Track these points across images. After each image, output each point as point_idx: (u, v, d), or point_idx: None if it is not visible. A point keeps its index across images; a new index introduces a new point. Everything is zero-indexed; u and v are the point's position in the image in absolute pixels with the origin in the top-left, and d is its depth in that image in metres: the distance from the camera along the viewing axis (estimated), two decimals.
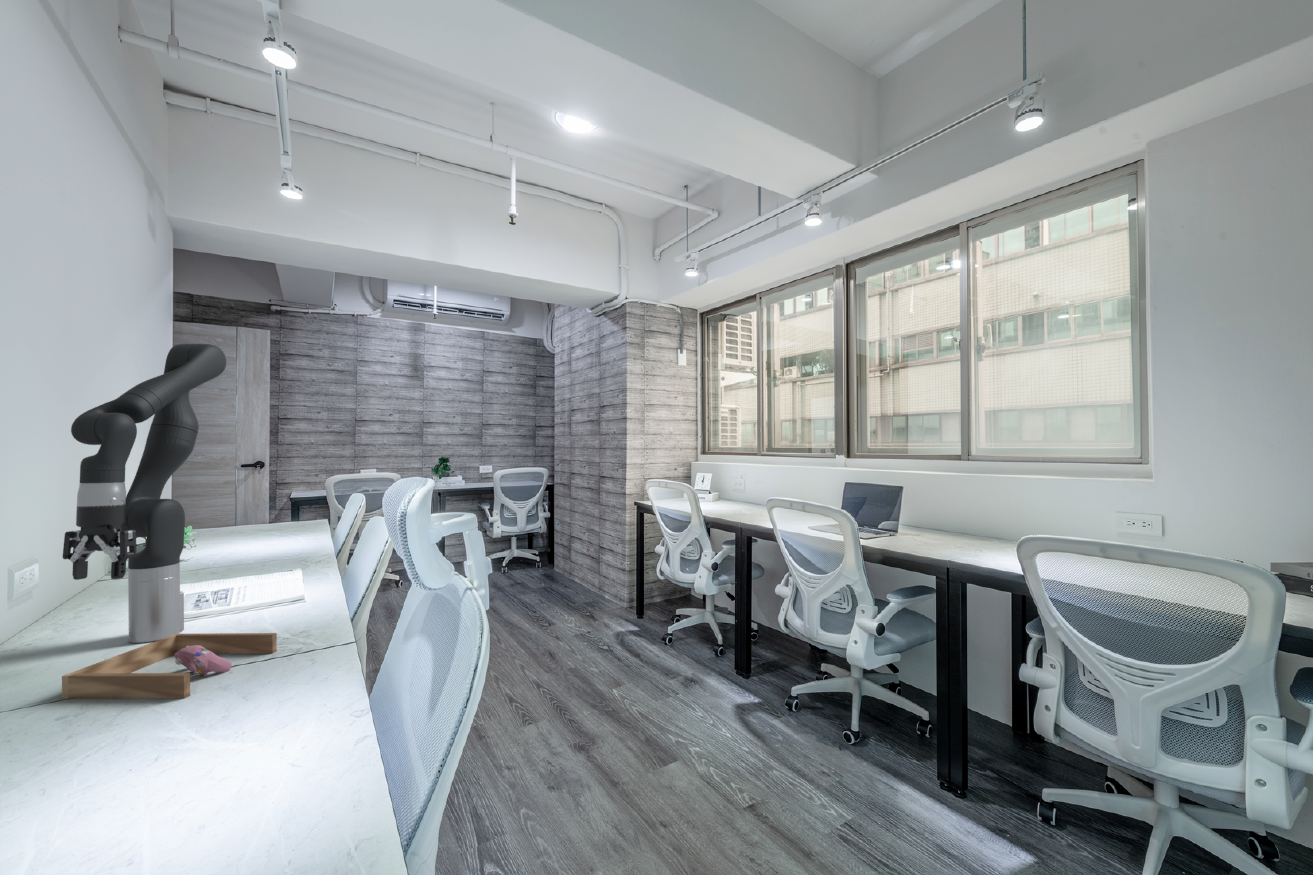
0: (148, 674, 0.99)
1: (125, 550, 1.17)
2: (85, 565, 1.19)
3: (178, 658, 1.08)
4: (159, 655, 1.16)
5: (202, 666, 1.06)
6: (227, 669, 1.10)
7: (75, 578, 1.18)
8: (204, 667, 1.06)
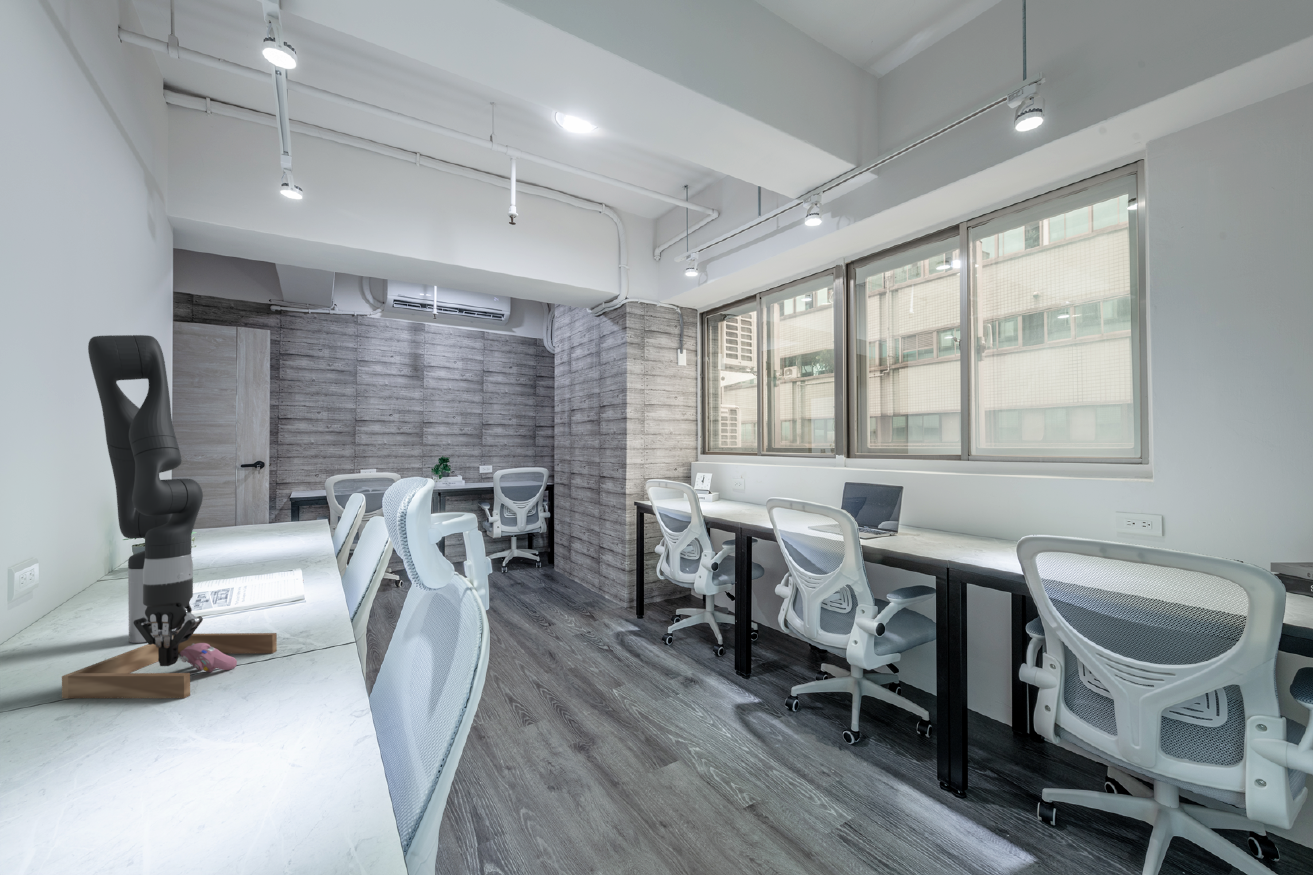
0: (148, 674, 0.99)
1: (180, 639, 1.08)
2: None
3: (184, 656, 1.09)
4: None
5: (207, 663, 1.07)
6: (233, 666, 1.11)
7: (162, 665, 1.09)
8: (210, 664, 1.07)
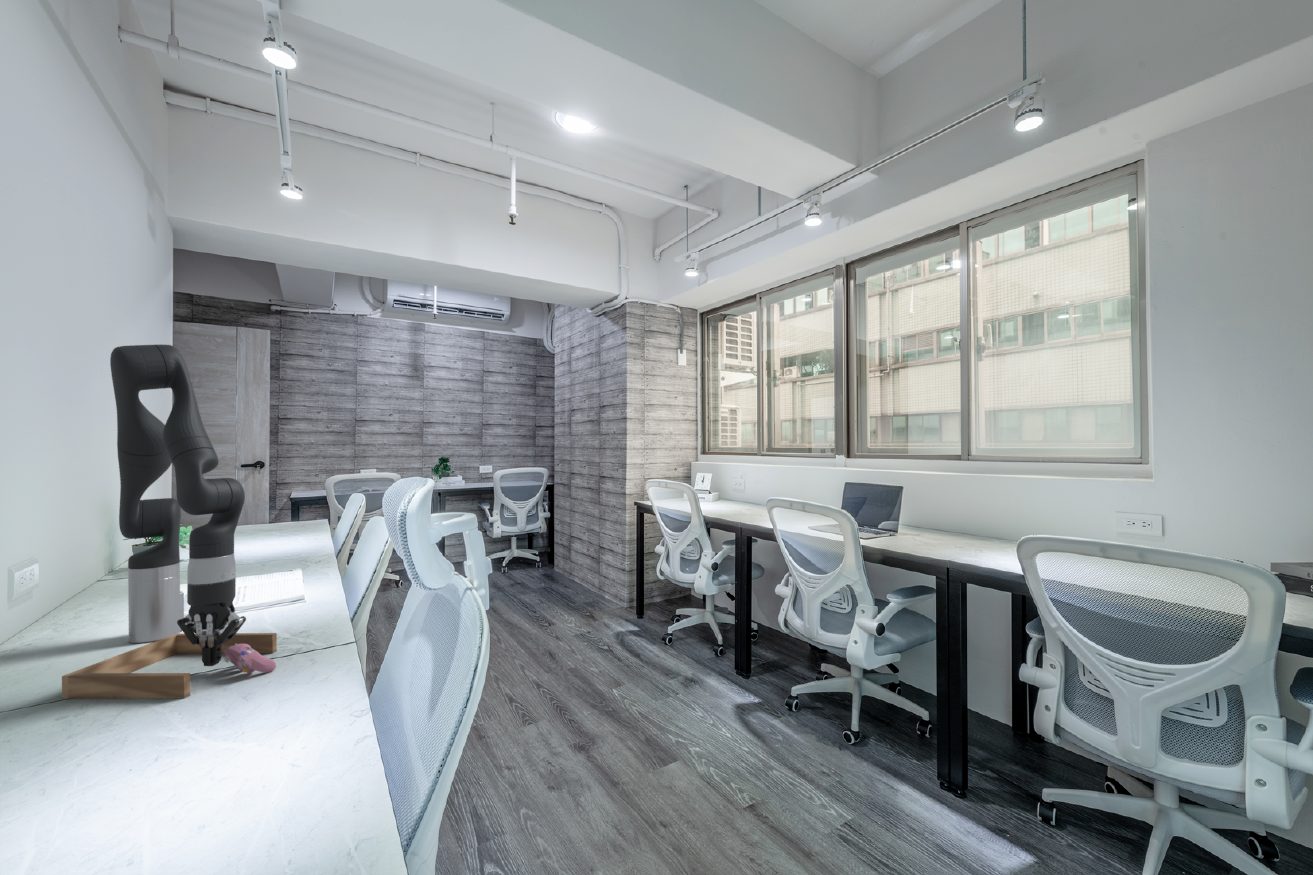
0: (148, 674, 0.99)
1: (224, 639, 1.08)
2: None
3: (226, 656, 1.09)
4: (159, 655, 1.16)
5: (246, 665, 1.06)
6: (271, 669, 1.09)
7: (205, 665, 1.08)
8: (248, 666, 1.06)
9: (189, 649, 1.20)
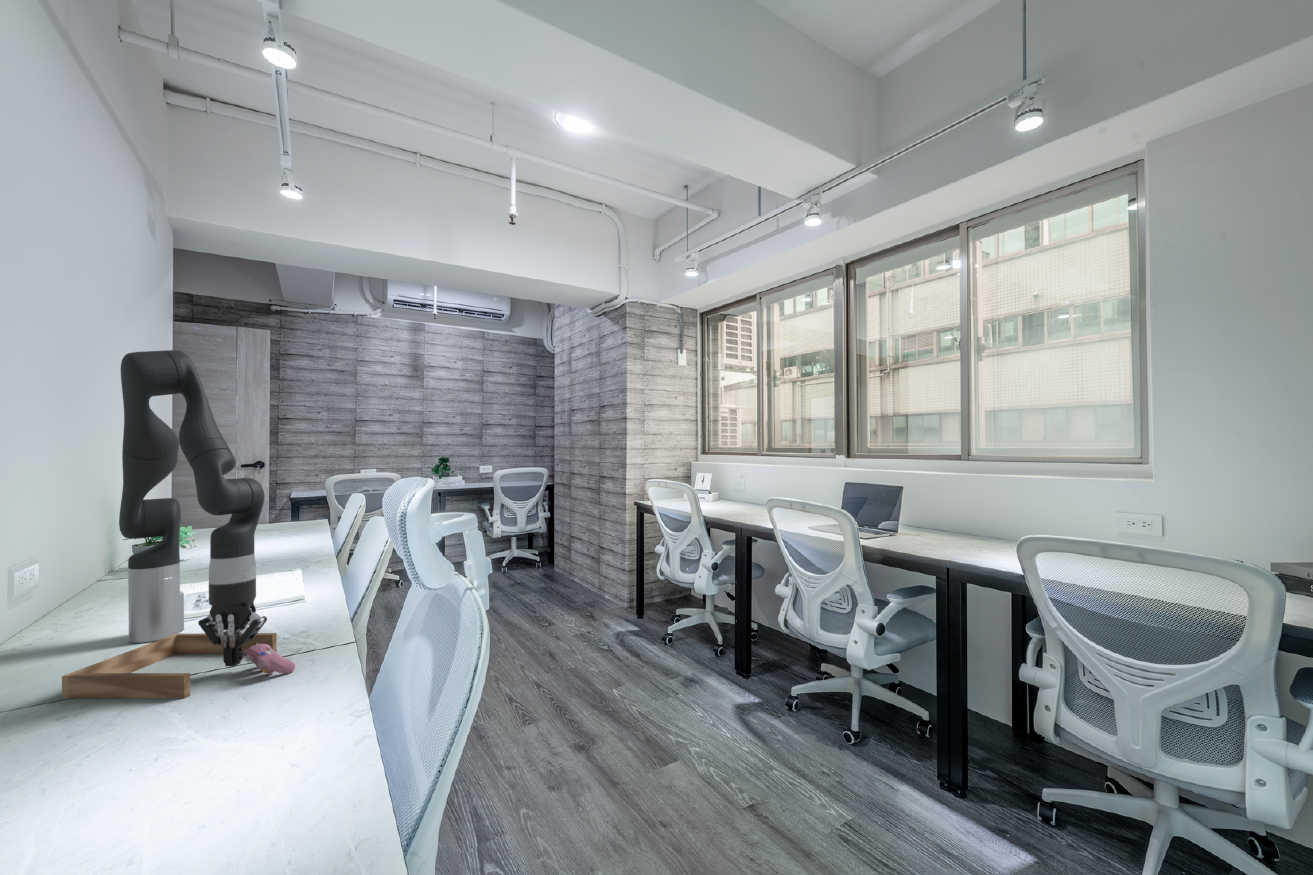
0: (148, 674, 0.99)
1: (246, 639, 1.08)
2: None
3: (247, 656, 1.09)
4: (159, 655, 1.16)
5: (265, 666, 1.05)
6: (290, 670, 1.08)
7: (227, 665, 1.08)
8: (267, 667, 1.05)
9: (189, 649, 1.20)
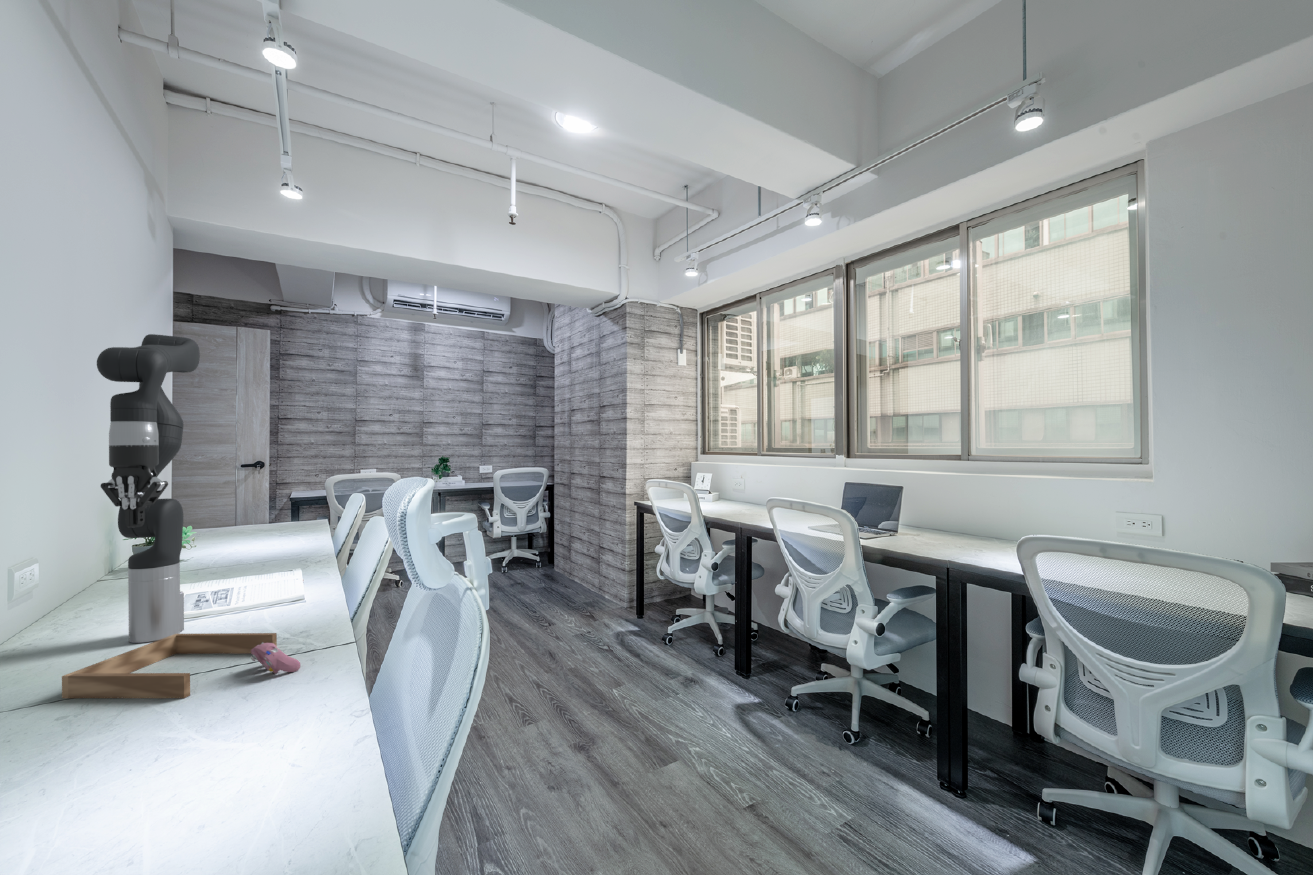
0: (148, 674, 0.99)
1: (146, 500, 1.12)
2: None
3: (253, 654, 1.09)
4: (159, 655, 1.16)
5: (271, 664, 1.06)
6: (296, 669, 1.09)
7: (128, 526, 1.13)
8: (273, 666, 1.06)
9: (189, 649, 1.20)
